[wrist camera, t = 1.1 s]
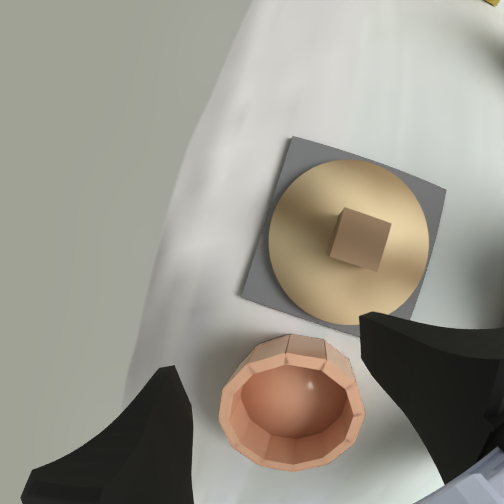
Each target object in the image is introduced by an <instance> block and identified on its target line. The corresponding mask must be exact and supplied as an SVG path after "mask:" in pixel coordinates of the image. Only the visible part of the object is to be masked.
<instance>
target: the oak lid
mask: <svg viewBox="0 0 504 504" xmlns="http://www.w3.org/2000/svg"><path fill="white" fill-rule="evenodd" d="M428 250H429V235H428V228H427V223H426V219H425V216H424V213H423V211H422V208H421V206H420V204H419V202H418V200H417V199H416V197H415V195H414V194H413V193H412V191H411V190H410V189H409V188H408V186H407V185H406V184H405V183H404V182H403V181H402V180H401V179H399V178H398V177H397V176H396V175H394V174H393V173H391V172H390V171H388V170H386V169H385V168H383V167H380V166H378V165H376V164H373V163H369V162H366V161H361V160H335V161H330V162H327V163H323V164H321V165H318V166H316V167H313V168H312V169H310V170H308V171H307V172H305V173H303V174H302V175H301V176H300V177H298V178H297V179H296V180H295V181H294V182H293V183H292V184H291V185H290V186H289V187H288V188H287V190H286V191H285V192H284V194H283V195H282V196H281V198H280V200H279V202H278V204H277V206H276V208H275V211H274V213H273V216H272V220H271V224H270V230H269V253H270V260H271V263H272V267H273V270H274V273H275V275H276V277H277V280H278V281H279V283H280V285H281V287H282V288H283V290H284V291H285V292H286V294H287V295H288V296H289V298H290V299H291V300H292V301H293V302H294V303H295V304H296V305H297V306H299V307H300V308H301V309H303V310H304V311H305V312H307V313H309V314H310V315H312V316H314V317H316V318H318V319H321V320H323V321H326V322H330V323H334V324H341V325H359V316H360V315H363V314H366V313H369V312H372V311H373V312H379V313H383V314H387V315H388V314H390V313H392V312H393V311H395V310H396V309H397V308H398V307H400V306H401V305H402V304H403V303H404V302H405V301H406V300H407V299H408V298H409V297H410V296H411V294H412V293H413V291H414V290H415V289H416V287H417V285H418V283H419V282H420V280H421V278H422V275H423V272H424V270H425V267H426V263H427V258H428Z"/></svg>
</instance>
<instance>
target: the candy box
mask: <svg viewBox="0 0 504 504" xmlns="http://www.w3.org/2000/svg"><path fill="white" fill-rule="evenodd" d="M485 1H487V2H489V3H491V4H492V5H494V6H497V5H498V3H499V1H500V0H485Z"/></svg>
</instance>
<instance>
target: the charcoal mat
mask: <svg viewBox="0 0 504 504" xmlns="http://www.w3.org/2000/svg"><path fill="white" fill-rule="evenodd" d="M335 160H361V161H366V162H369V163H373V164H376V165H378V166H380V167H383V168H385V169H386V170H388V171H390V172H391V173H393V174H394V175H396V176H397V177H398V178H399V179H401V180H402V181H403V182H404V183H405V184H406V185H407V186H408V188H409V189H410V190H411V191H412V193H413V194H414V195H415V197H416V199H417V200H418V202H419V204H420V206H421V208H422V211H423V213H424V216H425V219H426V223H427V228H428V235H429V250H428V258H427V263H426V267H425V270H424V272H423V275H422V278H421V280H420V282H419V283H418V285H417V287H416V289H415V290H414V291H413V293H412V294H411V296H410V297H409V298H408V299H407V300H406V301H405V302H404V303H403V304H402V305H401V306H400V307H398V308H397V309H396V310H395V311H393V312H392V313H390V314H388V315H391V316H395V317H399V318H403V319H406V320H410V318H411V315H412V312H413V309H414V307H415V304H416V301H417V298H418V295H419V292H420V289H421V286H422V283H423V280H424V277H425V274H426V271H427V267H428V264H429V260H430V257H431V253H432V250H433V246H434V242H435V239H436V235H437V231H438V227H439V222H440V218H441V214H442V209H443V204H444V199H445V194H446V189H444V188H441V187H439V186H437V185H434V184H432V183H430V182H427V181H425V180H422V179H420V178H418V177H415V176H413V175H410V174H408V173H405V172H402V171H400V170H397V169H395V168H392V167H389V166H387V165H384V164H381V163H378V162H375V161H373V160H370V159H367V158H364V157H361V156H358V155H355V154H352V153H349V152H346V151H343V150H339V149H336V148H333V147H330V146H326V145H323V144H320V143H316V142H313V141H309V140H305V139H302V138H298V137H294V136H293V137H292V140H291V143H290V146H289V149H288V152H287V155H286V158H285V162H284V165H283V168H282V171H281V174H280V177H279V180H278V184H277V187H276V190H275V193H274V196H273V199H272V202H271V205H270V209H269V212H268V215H267V218H266V221H265V224H264V227H263V230H262V233H261V237H260V240H259V243H258V246H257V249H256V252H255V255H254V258H253V261H252V265H251V268H250V271H249V274H248V277H247V280H246V283H245V286H244V289H243V292H242V296H241V297H242V298H245V299H248V300H251V301H253V302H256V303H259V304H262V305H265V306H268V307H270V308H273V309H276V310H279V311H282V312H285V313H288V314H291V315H294V316H297V317H300V318H303V319H306V320H309V321H312V322H315V323H318V324H321V325H324V326H327V327H330V328H333V329H336V330H339V331H342V332H346V333H349V334H352V335H355V336H358V337H360V326H359V325H341V324H334V323H330V322H326V321H323V320H321V319H318V318H316V317H314V316H312V315H310V314H309V313H307V312H305V311H304V310H303V309H301V308H300V307H299V306H297V305H296V304H295V303H294V302H293V301H292V300H291V299H290V298H289V296H288V295H287V294H286V292H285V291H284V290H283V288H282V287H281V285H280V283H279V281H278V280H277V277H276V275H275V273H274V270H273V267H272V263H271V260H270V253H269V230H270V224H271V220H272V216H273V213H274V211H275V208H276V206H277V204H278V202H279V200H280V198H281V196H282V195H283V194H284V192H285V191H286V190H287V188H288V187H289V186H290V185H291V184H292V183H293V182H294V181H295V180H296V179H297V178H298V177H300V176H301V175H302V174H303V173H305V172H307V171H308V170H310V169H312V168H313V167H316V166H318V165H321V164H323V163H327V162H330V161H335Z"/></svg>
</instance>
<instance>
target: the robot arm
mask: <svg viewBox="0 0 504 504" xmlns="http://www.w3.org/2000/svg"><path fill="white" fill-rule="evenodd" d="M359 326H360V343H361V359H362V360H363V362H364V364H365V365H366V367H367V369H368V370H369V372H370V373H371V375H372V376H373V378H374V379H375V380H376V381H377V382H378V383H379V385H380V386H381V387H382V388H383V389H384V390H385V391H386V393H387V394H388V395H389V396H390V397H391V398H392V399H393V401H394V402H395V403H396V404H397V405H398V406H399V407H400V409H401V410H402V411H403V412H404V414H405V415H406V416H407V417H408V419H409V421H410V422H411V424H412V425H413V427H414V428H415V430H416V431H417V433H418V434H419V436H420V438H421V439H422V441H423V443H424V445H425V446H426V448H427V450H428V452H429V453H430V455H431V457H432V459H433V461H434V463H435V465H436V467H437V469H438V471H439V473H440V475H441V478H442V480H443V482H444V484H445V485H444V486H443V487H441V488H439V489H438V490H436V491H435V492H433V493H431V494H430V495H428V496H426V497H424V498H423V499H421V500H419V501H417V502H415V503H414V504H504V328H496V329H455V328H445V327H438V326H433V325H428V324H423V323H418V322H414V321H410V320H406V319H403V318H399V317H395V316H391V315H387V314H383V313H379V312H373V311H372V312H369V313H366V314H363V315H360V316H359ZM192 446H193V417H192V407H191V403H190V401H189V399H188V396H187V394H186V392H185V390H184V387H183V385H182V382H181V380H180V378H179V375H178V373H177V370H176V368H175V365H173V366H168V367H163V368H159V369H158V370H157V371H156V372H155V374H154V375H153V376H152V377H151V379H150V380H149V381H148V383H147V384H146V385H145V386H144V388H143V389H142V390H141V391H140V393H139V394H138V395H137V396H136V398H135V399H134V400H133V401H132V402H131V403H130V404H129V405H128V407H127V408H126V409H125V410H124V411H123V412H122V413H121V414H120V415H119V417H117V418H116V419H115V420H114V421H113V422H112V423H111V424H110V425H109V426H108V427H107V428H105V429H104V430H103V431H102V432H101V433H100V434H98V435H97V436H95V437H94V438H93V439H91V440H90V441H88V442H87V443H86V444H84V445H83V446H81V447H80V448H78V449H76V450H75V451H73V452H71V453H70V454H68V455H66V456H64V457H62V458H60V459H58V460H56V461H54V462H51V463H49V464H46V465H44V466H41V467H39V468H37V469H34V470H32V471H31V474H30V476H29V478H28V481H27V483H26V485H25V488H24V490H23V493H22V495H21V501H22V503H23V504H194V500H193V491H192V480H191V468H192Z"/></svg>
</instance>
